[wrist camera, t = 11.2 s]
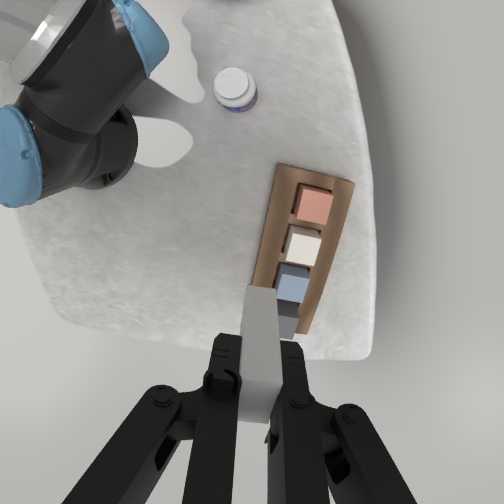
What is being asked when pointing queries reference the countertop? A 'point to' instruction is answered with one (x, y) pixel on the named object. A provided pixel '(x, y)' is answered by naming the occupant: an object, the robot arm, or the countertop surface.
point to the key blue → (291, 282)
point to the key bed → (284, 215)
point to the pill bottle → (235, 89)
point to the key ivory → (302, 244)
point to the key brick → (312, 204)
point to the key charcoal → (287, 318)
